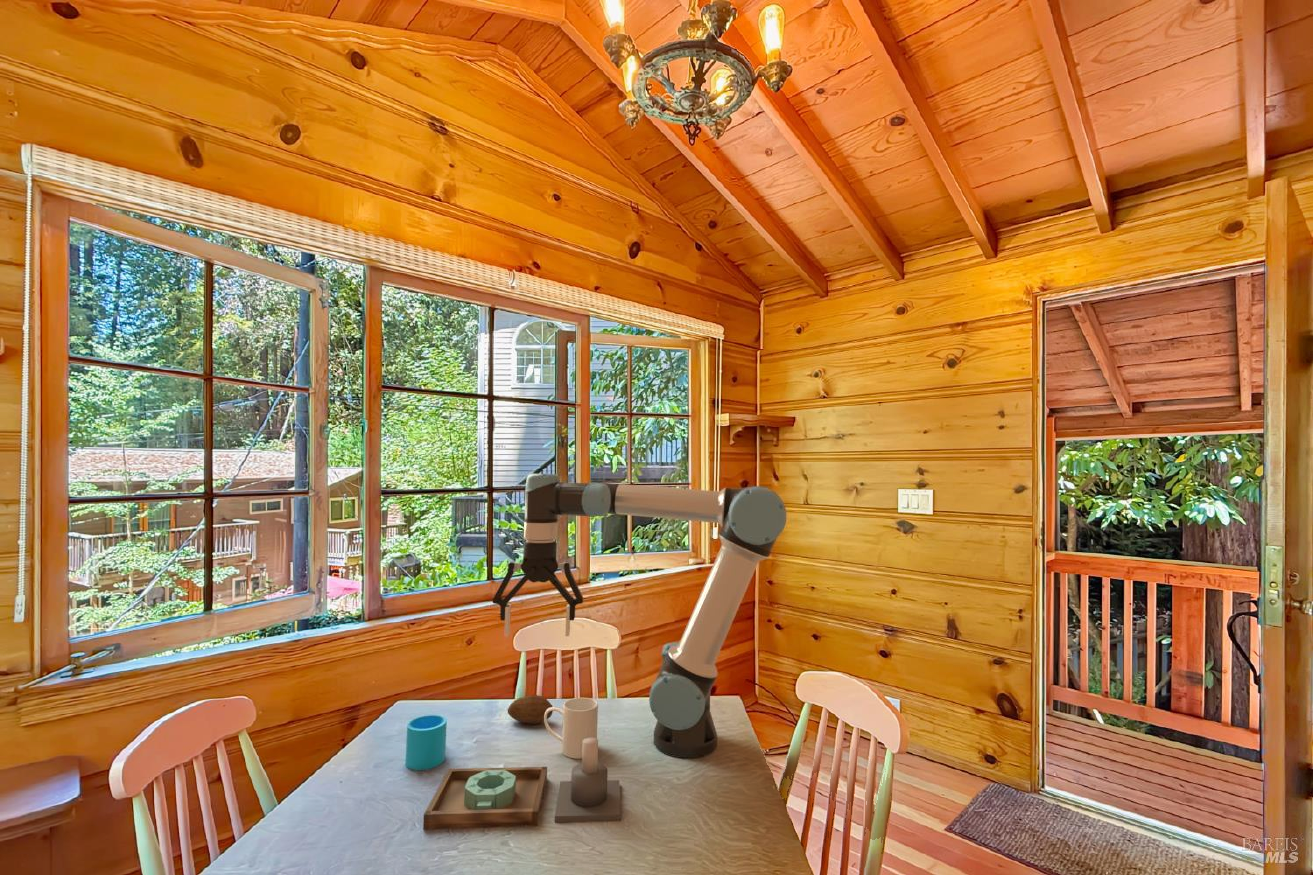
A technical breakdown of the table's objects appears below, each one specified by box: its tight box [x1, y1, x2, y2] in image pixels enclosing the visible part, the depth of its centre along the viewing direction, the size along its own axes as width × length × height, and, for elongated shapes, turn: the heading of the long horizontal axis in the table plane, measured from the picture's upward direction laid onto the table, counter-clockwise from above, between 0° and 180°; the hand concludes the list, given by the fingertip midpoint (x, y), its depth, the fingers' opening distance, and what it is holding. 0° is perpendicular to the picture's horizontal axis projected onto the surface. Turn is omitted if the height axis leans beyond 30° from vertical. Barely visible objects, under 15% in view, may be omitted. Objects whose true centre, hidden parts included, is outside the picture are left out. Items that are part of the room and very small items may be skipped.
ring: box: [464, 770, 516, 810], centre depth 110 cm, size 9×11×3 cm
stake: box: [554, 738, 622, 823], centre depth 112 cm, size 12×12×12 cm
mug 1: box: [405, 714, 448, 771], centre depth 129 cm, size 12×8×8 cm
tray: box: [422, 766, 548, 830], centre depth 111 cm, size 20×16×2 cm
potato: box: [507, 694, 554, 725], centre depth 147 cm, size 7×12×7 cm, turn 92°
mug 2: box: [543, 697, 599, 760], centre depth 132 cm, size 12×8×10 cm, turn 97°
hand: (537, 634), depth 131 cm, fingers open, 13 cm apart
